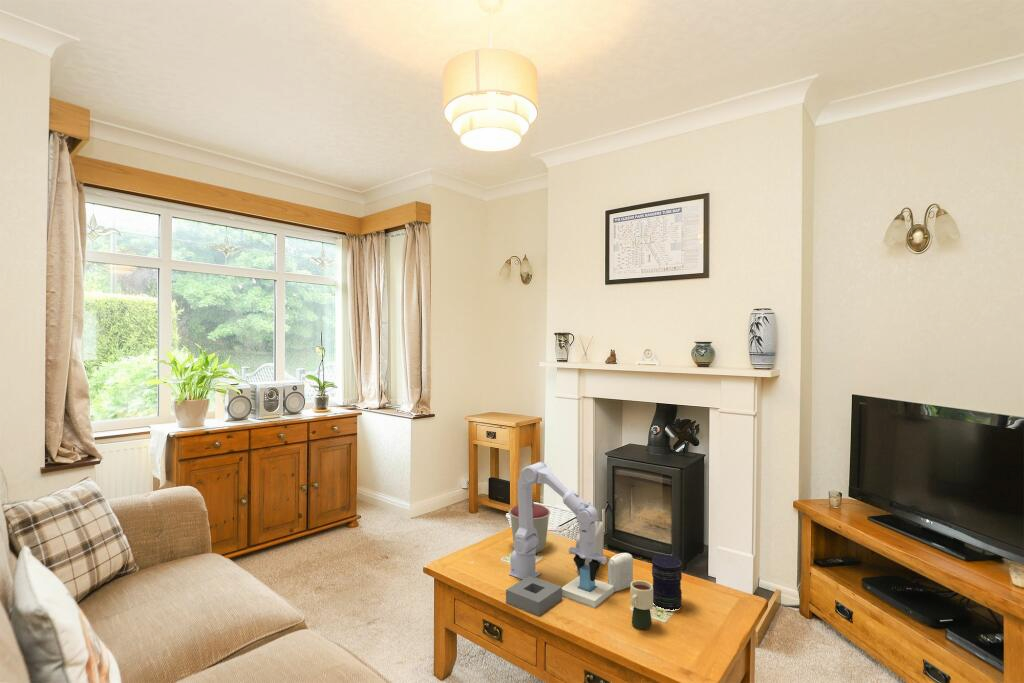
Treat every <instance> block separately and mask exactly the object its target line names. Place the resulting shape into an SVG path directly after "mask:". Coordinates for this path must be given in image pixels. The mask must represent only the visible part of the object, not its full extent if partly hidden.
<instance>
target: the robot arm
mask: <svg viewBox="0 0 1024 683" xmlns="http://www.w3.org/2000/svg"><path fill="white" fill-rule="evenodd" d="M535 484H541V485H543V484H544V485H547V486H548V487H550V489H552V490H553V491H554V492H555V493H557V494H558V495H559V496H560V497H561V498H562V502H563V504H564V506H566V507H567V508H568V509H569V510H570V511H571V512H572V513H573V514H574V515H575V517H576V520H577V522H578V524H579V533H580V540H579V548H576V547H575V546H574V547H573V546H570V547H569V548H568V554H569V555H574V557H573V558H572V559H573V561H574V564H575V563H576V565H575V567H576V569H577V568H578V571H579V574H578V576H580V568H581V567H582V566H584V565H585V559H586V558H588V559H591V560H592V561H591V562H589V567H590V578H591V581H594V580H596V575H597V573H598V570H599V568H600V565H601V564H602V565H605V564H608V563H607V562H608V558H607V556H605V555H603V556H602V555H601V554H599V553H597V552H595V544H596V521H597V518H599V511H598V508H596V506H595V505H593V504H591V505H590V504H589V502H586V500H584V499H583V498H582V497H581V496H580V495H579V493H578V491H577V492H575V491H574V490H569V489H568V488H567V487H566V486H565V484H563V482H561V481H560V479H559V478H558V477H557V476H556V475H555V474H554V472H552V468H551V467H549V466H548V465H547V463H545V462H544V461H537V462H536V463H533V464H531V465H526V466H525V467H524V468H522V469H521V470H520V476H519V478H518V480H517V501H518V502H517V503H518V510H519V529H518V531H517V532H516V534H515V541H514V542H513V551H512V552H511V555H510V572H509V573H508V575H509V576H512V577H514V578H517V579H520V580H523V579H525V578H526V577H528V576H533V577H536V578H538V576H540V575H541V573H540V572H538V571H536V569H537V567H536V565H537V563H536V562H537V560H536V558H537V557H536V554H537V553H536V547H537V546H538V544H539V538H538V536H537V530H536V529H535V528H534V527H533V508H532V502H533V486H534V485H535Z"/></svg>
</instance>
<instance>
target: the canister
mask: <svg viewBox="0 0 1024 683" xmlns="http://www.w3.org/2000/svg"><path fill="white" fill-rule="evenodd" d="M532 508H533V527H534V528H535V529H536V530H537V536H538V538H539V544H538V546H537V547H536V554H537V553H540V552H542V551H543V550H544V548H545V546H546V544H547V542H546V541H547V536H548V528H549V518H550V514H551V510H550V509H549V508H548V507H546V506H544V505H541V504H536V503H535V502H534V501H532ZM508 514H509V515H510V523H511V533H512V541H513V543H514V541H515V534H516V532H517V531H518V529H519V510H518V505H515V506H513V507H511V508H510V509H509V511H508Z"/></svg>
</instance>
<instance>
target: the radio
mask: <svg viewBox="0 0 1024 683" xmlns="http://www.w3.org/2000/svg"><path fill="white" fill-rule="evenodd" d="M588 504H590V505H592V504H591V501H588ZM595 521H596V544H595V552H597V553H599V554H601V555H602V556H604V537H605V534H604V533H605V531H604V530H605V529H604V528H605V525H604V522H602V521H600V519H599V517H598V518H597V519H596V520H595ZM575 540H576V541H575V548H579V540H580V532H578V533H577V537H576V539H575ZM591 561H592V560H591V559H588V558H586V559H585V564H586V565H589V562H591ZM574 566H576V563H575V562H574ZM576 572H577V574H578V575H579V571H578V568H577V567H576Z"/></svg>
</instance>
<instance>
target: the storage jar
mask: <svg viewBox="0 0 1024 683" xmlns="http://www.w3.org/2000/svg"><path fill="white" fill-rule="evenodd" d="M651 565H652V566H651V574H652V585H653V603H654V604H655V605H656V606H658V607H661V608H664V609H670V610H673V609H674V610H675V609H679V608H680V607H681V608H682V599H683V598H682V596H683V595H682V594H683V593H682V589H681V583H682V582H681V581H682V575H683V573H682V571H683V569H682V561H681V559H679V558H677V557H675V556H673V555H672V556H671V555H665V554H664V555H662V554H661V555H655V556H653V557H652V564H651Z"/></svg>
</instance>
